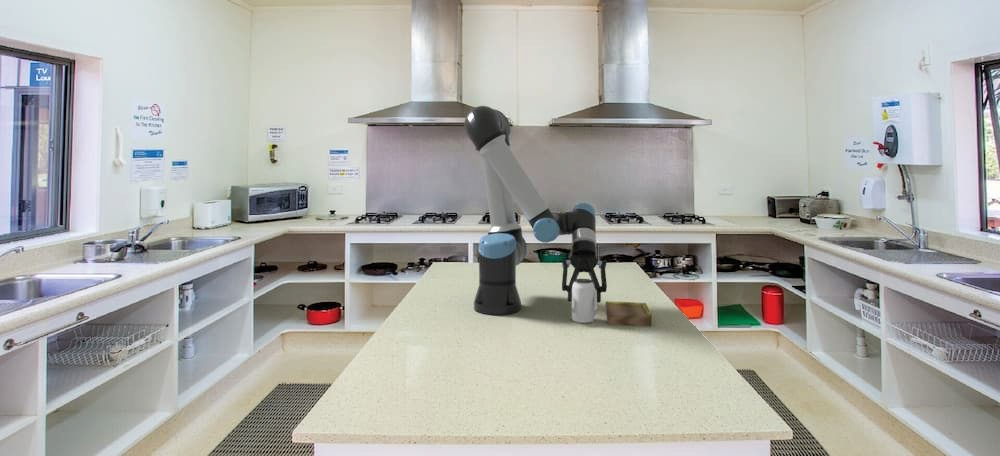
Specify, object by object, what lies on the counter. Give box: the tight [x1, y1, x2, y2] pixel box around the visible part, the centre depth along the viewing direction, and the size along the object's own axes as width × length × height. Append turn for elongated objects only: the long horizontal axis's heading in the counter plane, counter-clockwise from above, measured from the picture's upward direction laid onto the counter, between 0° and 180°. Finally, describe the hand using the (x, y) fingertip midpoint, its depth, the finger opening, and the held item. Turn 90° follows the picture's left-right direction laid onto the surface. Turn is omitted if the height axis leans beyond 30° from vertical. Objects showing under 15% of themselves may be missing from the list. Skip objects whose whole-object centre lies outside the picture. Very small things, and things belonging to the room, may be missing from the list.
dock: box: [605, 301, 653, 328], centre depth 148 cm, size 12×12×4 cm
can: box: [571, 278, 595, 325], centre depth 146 cm, size 6×6×12 cm
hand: (584, 311), depth 143 cm, fingers closed on can, 6 cm apart
